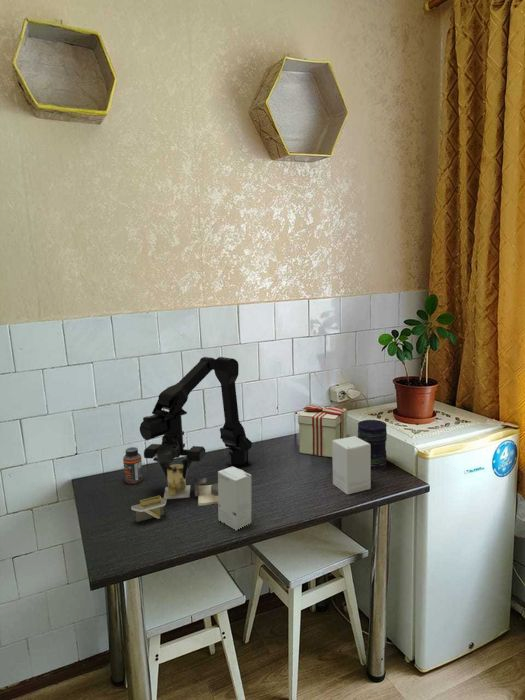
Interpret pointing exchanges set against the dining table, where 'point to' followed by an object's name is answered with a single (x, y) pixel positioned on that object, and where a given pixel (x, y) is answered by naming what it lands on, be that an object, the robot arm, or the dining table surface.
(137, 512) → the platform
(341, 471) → the supplement box
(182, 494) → the grey mat
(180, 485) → the brass bell
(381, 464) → the storage jar
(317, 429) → the gift box
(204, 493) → the cream slotted block
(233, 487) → the skincare box
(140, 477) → the supplement bottle
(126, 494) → the dining table surface
